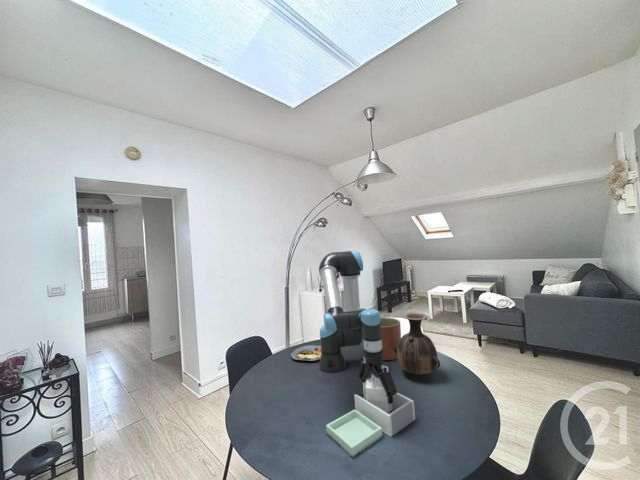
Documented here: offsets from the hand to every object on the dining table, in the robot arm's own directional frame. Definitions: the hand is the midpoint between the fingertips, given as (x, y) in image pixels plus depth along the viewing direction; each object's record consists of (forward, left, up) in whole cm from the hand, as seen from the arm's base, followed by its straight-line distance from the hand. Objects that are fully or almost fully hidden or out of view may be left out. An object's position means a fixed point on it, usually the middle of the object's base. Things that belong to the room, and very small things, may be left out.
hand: (377, 403), depth 105 cm
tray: (+3, -16, -3) cm, 17 cm away
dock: (+3, 0, -3) cm, 5 cm away
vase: (-7, +37, -3) cm, 38 cm away
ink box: (0, 0, -3) cm, 3 cm away
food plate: (-67, +11, -4) cm, 68 cm away
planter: (-34, +44, -3) cm, 56 cm away
